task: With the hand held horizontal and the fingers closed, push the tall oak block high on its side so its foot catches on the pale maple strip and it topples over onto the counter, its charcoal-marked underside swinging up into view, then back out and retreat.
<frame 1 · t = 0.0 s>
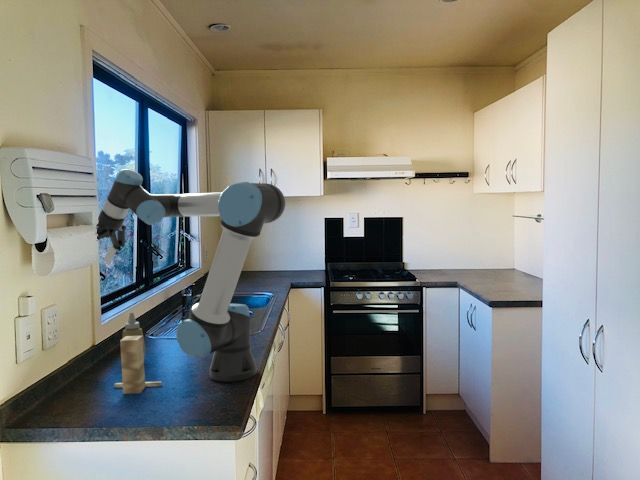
hand: (90, 264, 175), 36 cm above the worktop, tool tilted 35°, fingers open, 13 cm apart
squeeze bottle: (134, 363, 183), on the worktop
oak block: (134, 390, 155), on the worktop
maple strip: (138, 386, 159), on the worktop
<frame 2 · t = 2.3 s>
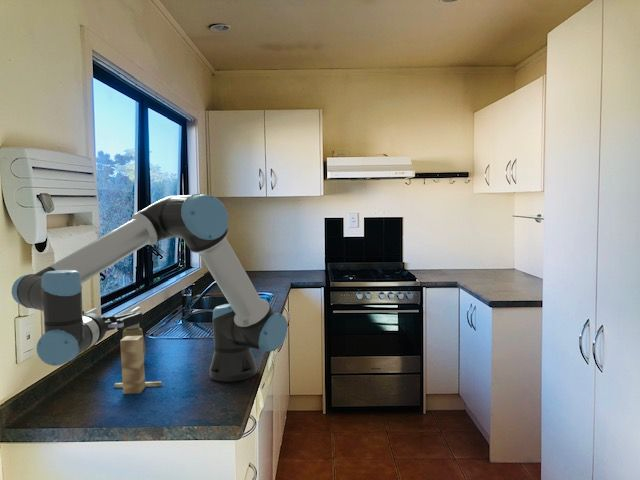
hand: (117, 312, 143), 26 cm above the worktop, tool horizontal, fingers open, 11 cm apart
nothing on the worktop moved.
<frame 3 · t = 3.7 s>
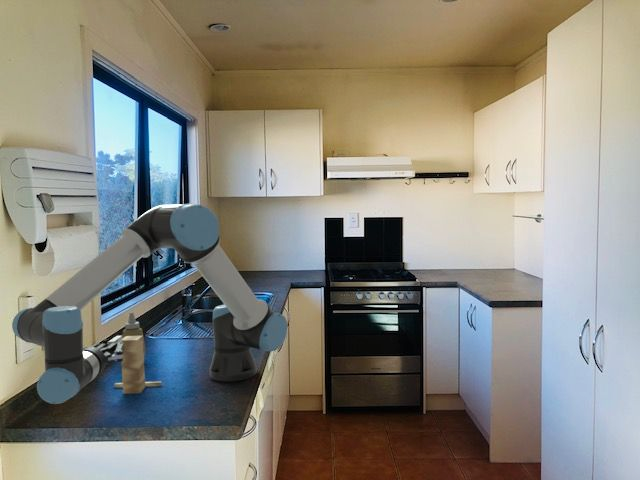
hand: (119, 340, 145), 18 cm above the worktop, tool horizontal, fingers closed
nothing on the worktop moved.
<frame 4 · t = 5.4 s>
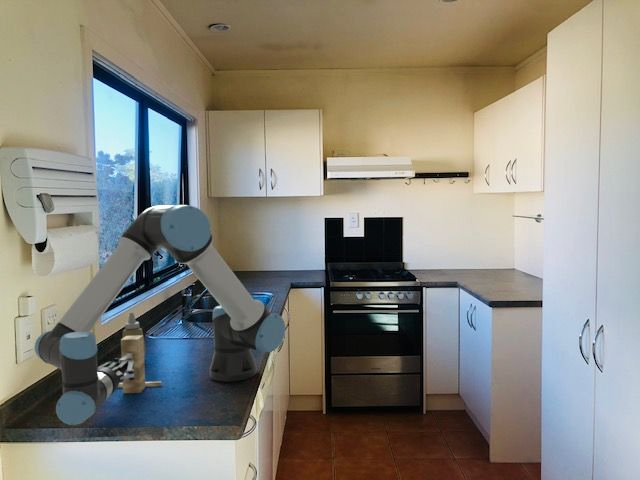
hand: (129, 357, 152), 11 cm above the worktop, tool horizontal, fingers closed
oak block: (134, 390, 155), on the worktop, touching gripper
everything else where it was.
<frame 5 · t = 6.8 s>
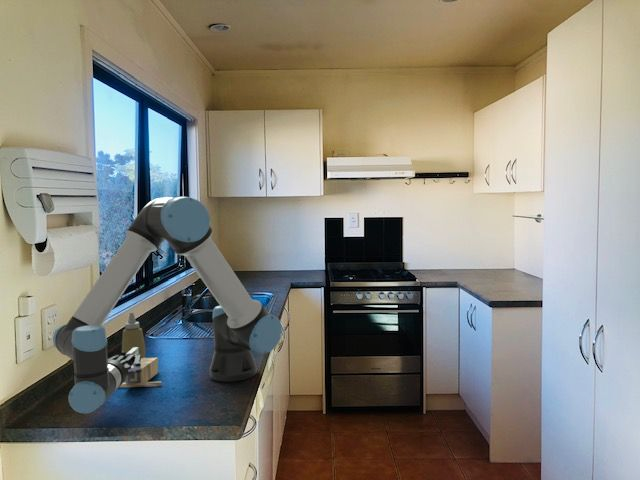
hand: (136, 351, 158), 11 cm above the worktop, tool horizontal, fingers closed
oak block: (134, 376, 156), point 4 cm above the worktop, tilted 96°, touching maple strip
everything else where it was.
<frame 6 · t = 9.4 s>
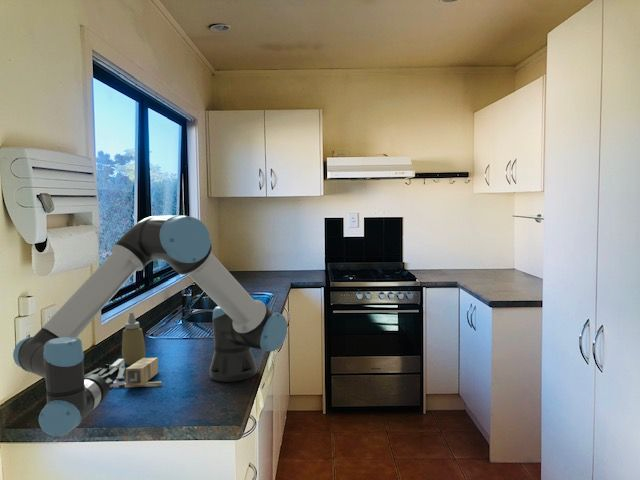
hand: (121, 363, 145), 11 cm above the worktop, tool horizontal, fingers closed
nothing on the worktop moved.
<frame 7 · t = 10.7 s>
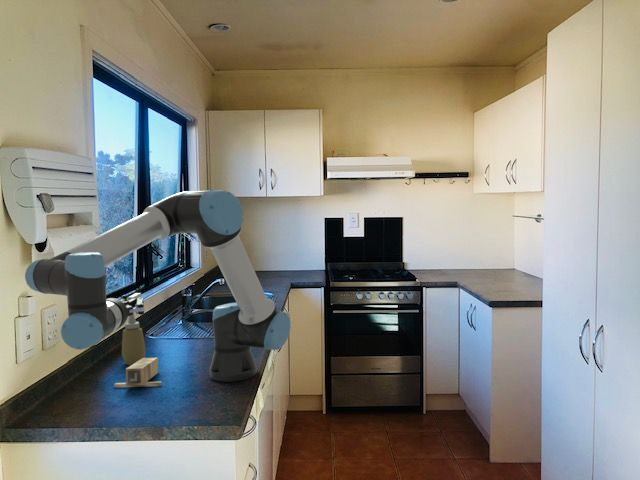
hand: (138, 297, 143), 30 cm above the worktop, tool horizontal, fingers closed
nothing on the worktop moved.
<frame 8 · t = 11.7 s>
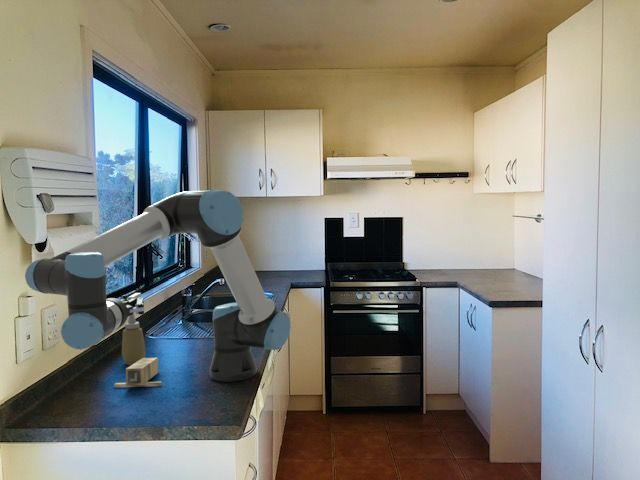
hand: (138, 297, 143), 30 cm above the worktop, tool horizontal, fingers closed
nothing on the worktop moved.
at the end: oak block tilted 96°; oak block inside the target area (7.3 cm from its centre), point 4.0 cm above the worktop; the gripper is holding nothing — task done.
